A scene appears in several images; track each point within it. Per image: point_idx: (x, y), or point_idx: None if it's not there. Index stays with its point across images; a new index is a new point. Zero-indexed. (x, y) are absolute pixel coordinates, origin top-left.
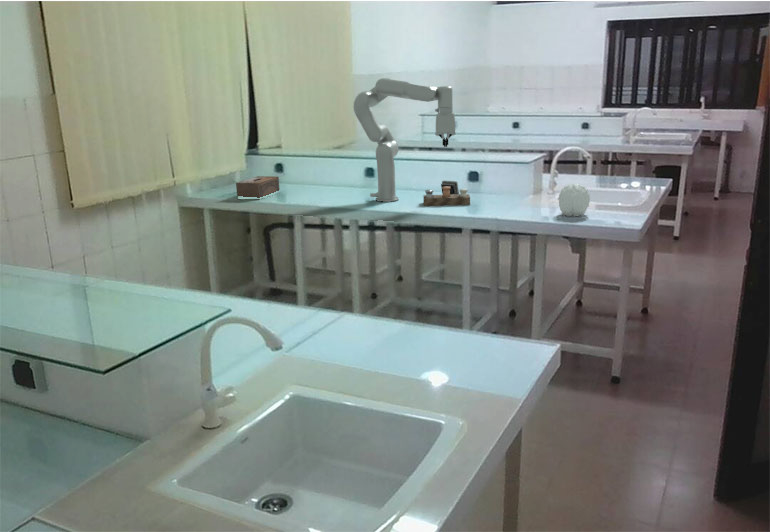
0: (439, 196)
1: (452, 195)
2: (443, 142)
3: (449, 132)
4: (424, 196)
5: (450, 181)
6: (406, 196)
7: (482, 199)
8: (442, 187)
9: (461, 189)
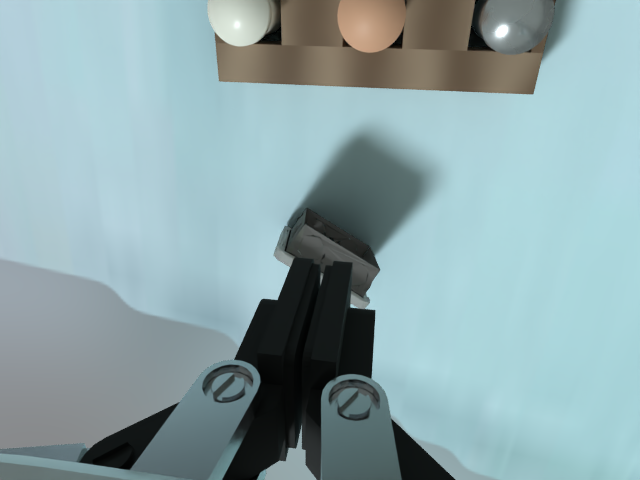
0: (427, 11)
1: (328, 40)
2: (355, 339)
3: (64, 477)
4: None
5: None
6: (569, 301)
7: (159, 127)
8: (405, 7)
9: (253, 13)
